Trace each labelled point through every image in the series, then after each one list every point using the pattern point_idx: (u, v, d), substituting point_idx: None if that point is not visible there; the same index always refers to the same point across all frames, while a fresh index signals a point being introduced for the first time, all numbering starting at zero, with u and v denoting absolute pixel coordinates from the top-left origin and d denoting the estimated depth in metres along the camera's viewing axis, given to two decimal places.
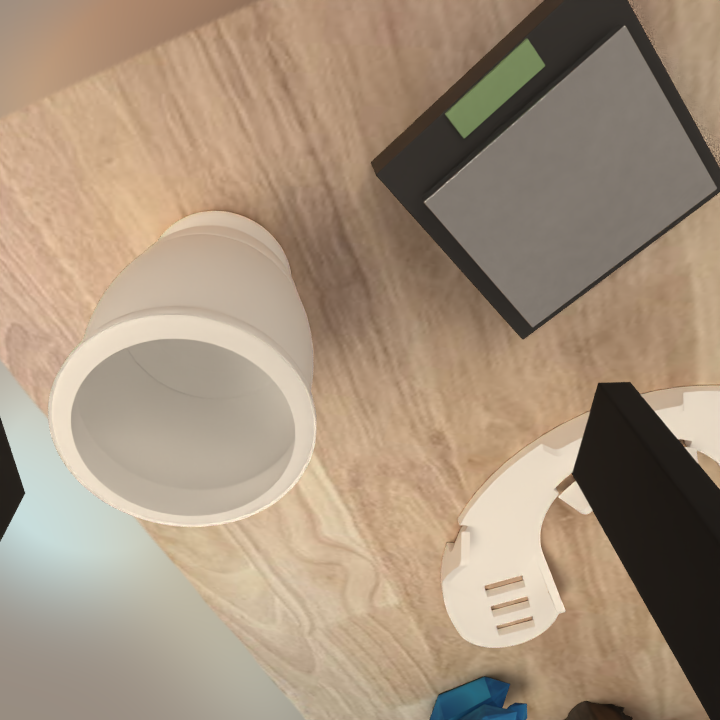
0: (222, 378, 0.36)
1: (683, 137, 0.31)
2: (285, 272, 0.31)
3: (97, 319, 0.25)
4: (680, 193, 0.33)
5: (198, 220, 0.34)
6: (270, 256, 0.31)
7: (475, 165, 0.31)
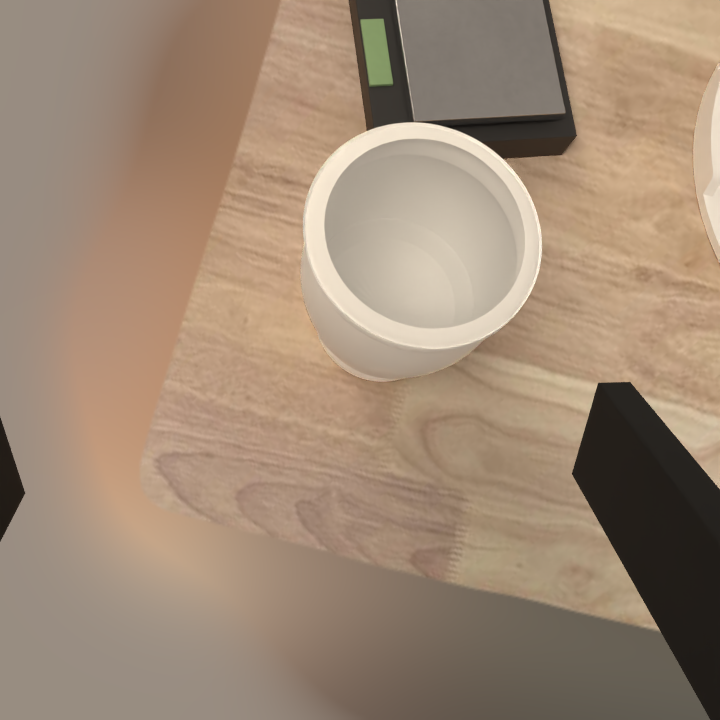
0: None
1: None
2: (392, 219, 0.37)
3: (307, 268, 0.29)
4: None
5: None
6: (373, 219, 0.37)
7: (412, 77, 0.41)
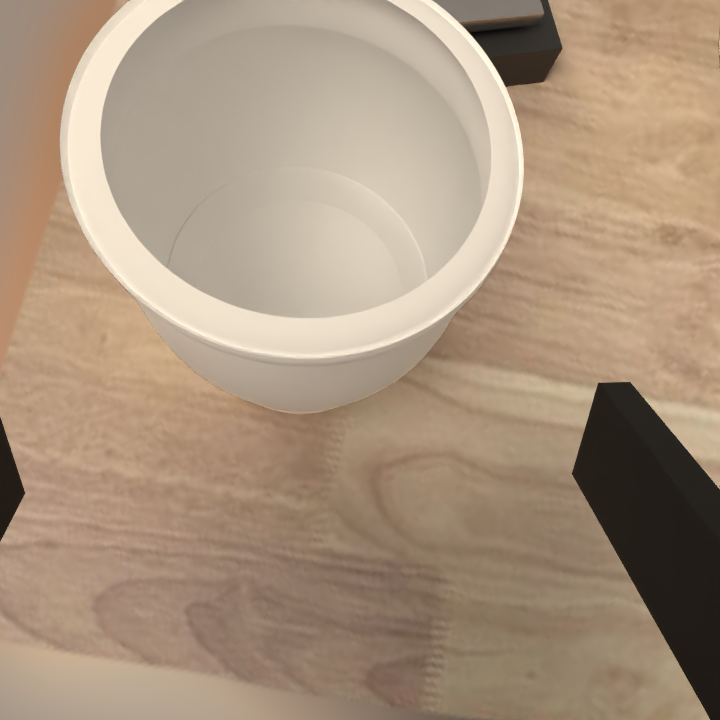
0: None
1: None
2: None
3: None
4: None
5: None
6: (268, 170, 0.24)
7: None
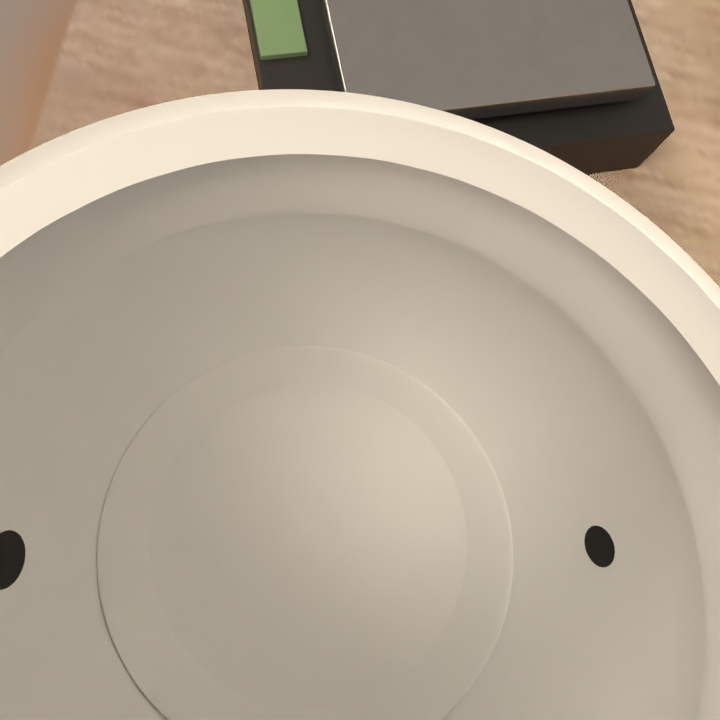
0: (457, 633, 0.16)
1: None
2: None
3: None
4: None
5: None
6: None
7: (343, 34, 0.20)
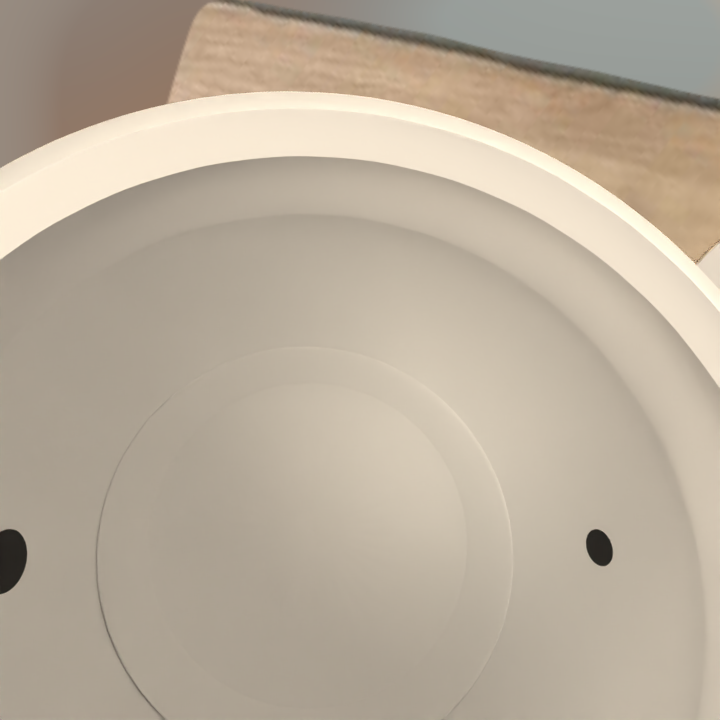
0: (457, 634, 0.16)
1: None
2: None
3: None
4: None
5: None
6: None
7: None
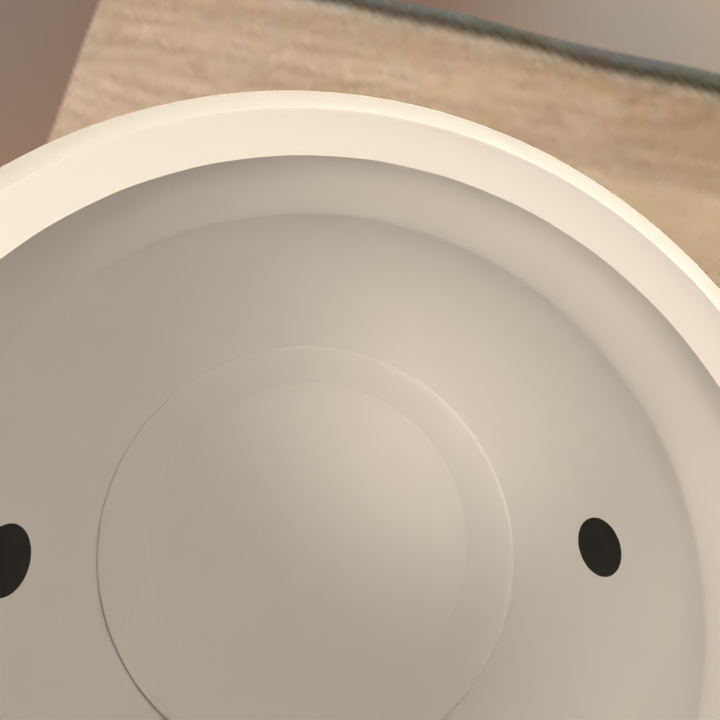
0: (457, 633, 0.16)
1: None
2: None
3: None
4: None
5: None
6: None
7: None
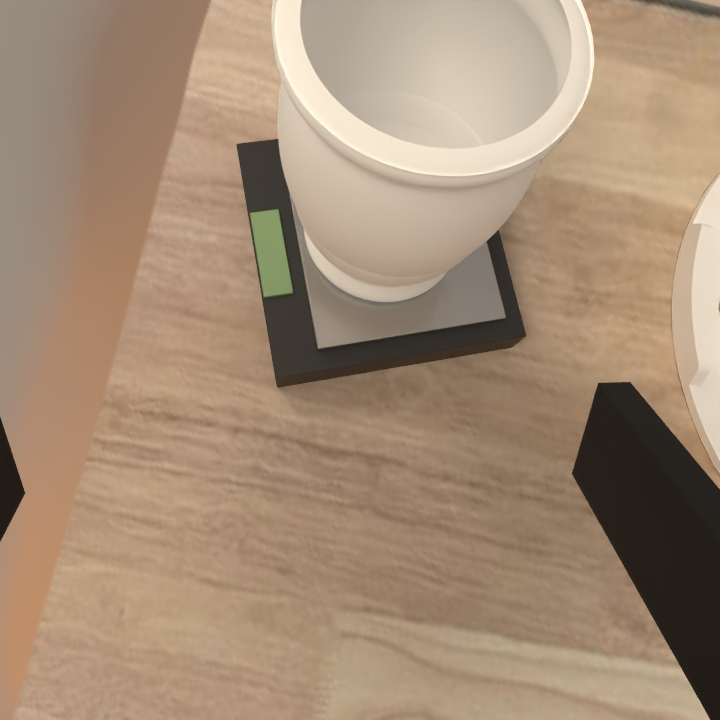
0: None
1: None
2: (389, 92, 0.30)
3: (284, 110, 0.22)
4: None
5: None
6: (366, 93, 0.30)
7: (314, 292, 0.33)
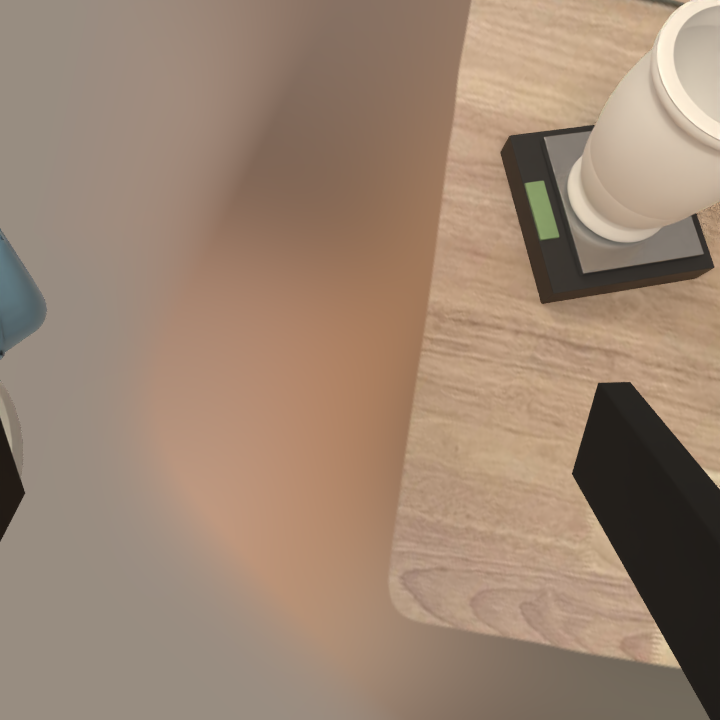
0: None
1: None
2: None
3: (637, 114, 0.38)
4: None
5: (575, 171, 0.49)
6: None
7: (577, 236, 0.49)
